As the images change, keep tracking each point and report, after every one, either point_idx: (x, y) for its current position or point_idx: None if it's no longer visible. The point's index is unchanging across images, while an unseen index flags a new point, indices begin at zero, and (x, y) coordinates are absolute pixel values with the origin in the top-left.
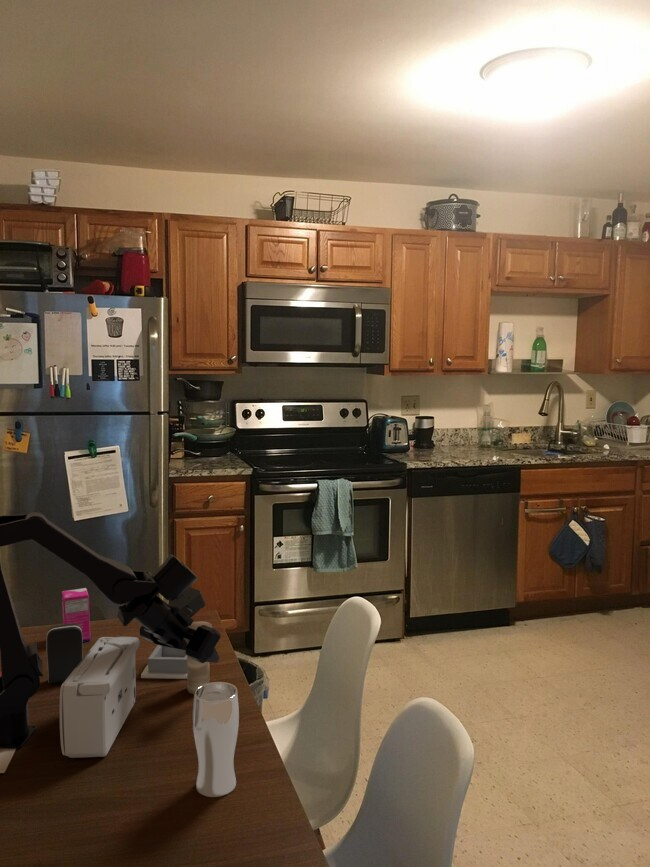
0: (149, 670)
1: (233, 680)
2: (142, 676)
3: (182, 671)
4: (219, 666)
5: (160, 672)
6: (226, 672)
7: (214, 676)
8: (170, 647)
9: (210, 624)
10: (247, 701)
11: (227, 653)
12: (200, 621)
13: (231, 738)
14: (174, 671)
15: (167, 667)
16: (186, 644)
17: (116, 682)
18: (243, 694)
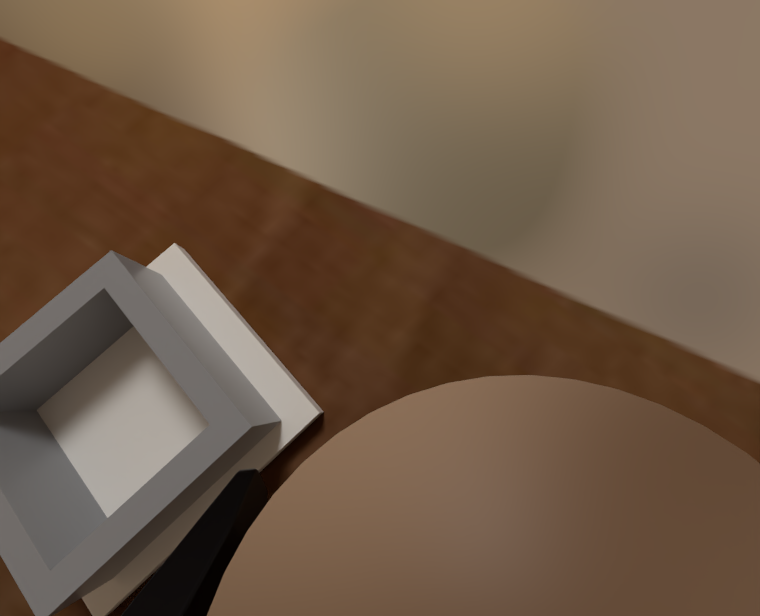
0: (108, 578)
1: (471, 280)
2: (112, 609)
3: (255, 443)
4: (303, 241)
5: (164, 528)
6: (378, 254)
7: (372, 319)
8: (14, 378)
9: (625, 420)
10: (707, 364)
11: (222, 140)
12: (301, 474)
13: None
14: (220, 473)
15: (179, 509)
16: (245, 514)
17: None
18: (629, 333)
